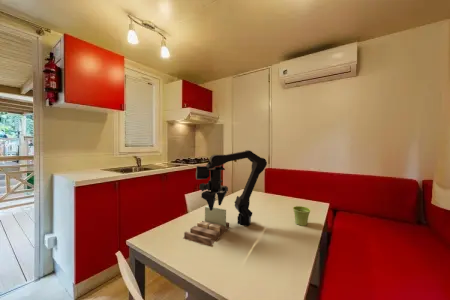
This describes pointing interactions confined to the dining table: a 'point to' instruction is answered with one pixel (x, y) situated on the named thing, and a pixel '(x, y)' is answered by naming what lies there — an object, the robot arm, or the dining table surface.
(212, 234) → the rack
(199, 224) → the offcut
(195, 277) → the dining table surface
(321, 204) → the dining table surface
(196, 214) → the dining table surface
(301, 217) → the plant pot
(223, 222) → the sheet
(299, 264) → the dining table surface
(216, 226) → the offcut
